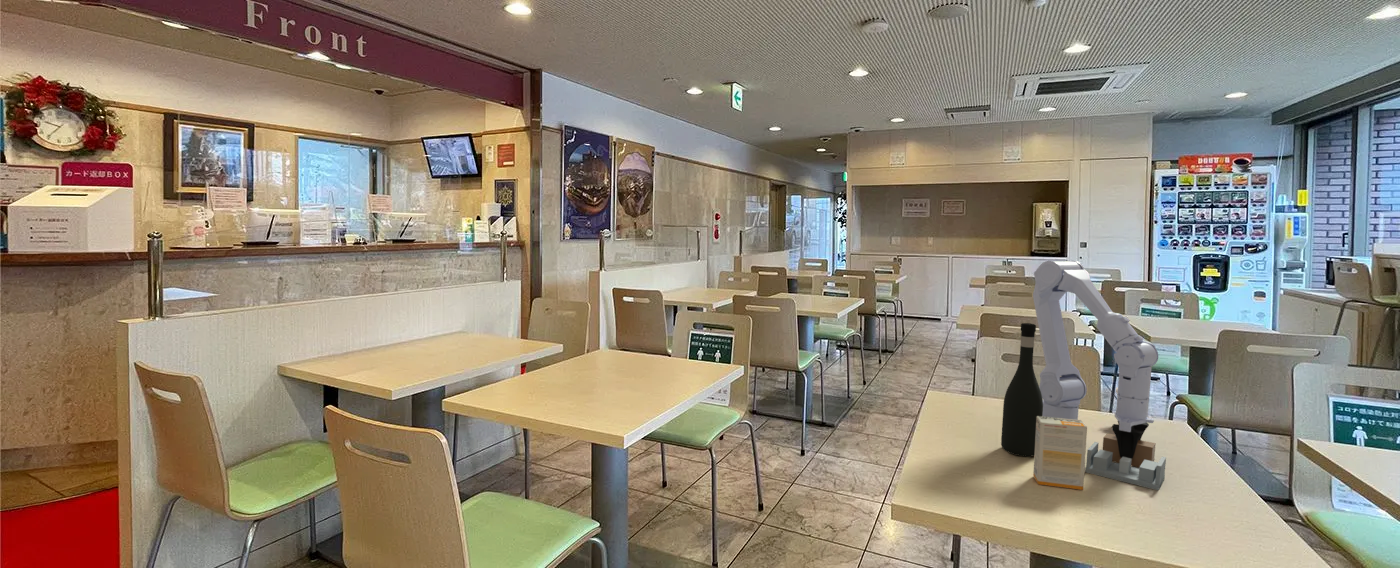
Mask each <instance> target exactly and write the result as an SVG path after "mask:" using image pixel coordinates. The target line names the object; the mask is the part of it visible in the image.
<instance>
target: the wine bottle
mask: <svg viewBox="0 0 1400 568" xmlns="http://www.w3.org/2000/svg"><path fill="white" fill-rule="evenodd" d="M1036 331H1037V325H1036V323H1030V322H1027V323H1026V322H1023V323H1021V324H1020V348H1019V349H1020V350H1019V351H1020V352H1019V361H1018V366H1017V368H1016V371H1015V373H1014V375H1013V377H1012V379H1011V380H1010V383H1009V384H1008V387H1007V389H1006V390H1005V394H1004V398H1003V407H1002V421H1001V422H1002V424H1001V438H1000V439H1001V442H1000V445H1001V447H1002V449H1003V450H1004V451H1005V452H1007V453H1008V454H1012V455H1016V456H1018V457H1019V456H1020V457H1034V454H1035V436H1036V419H1037V416H1043V398H1042V394H1041V391H1040V388H1039V385H1040V384H1039V383H1038V380H1037V377H1036V373H1035V370H1034V363H1033V362H1034V347H1035V337H1036V336H1035V335H1036Z"/></svg>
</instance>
